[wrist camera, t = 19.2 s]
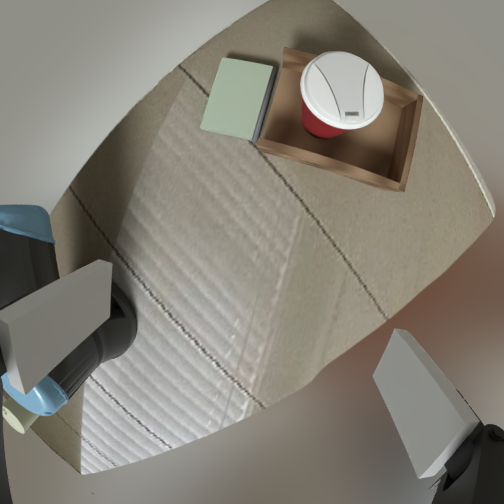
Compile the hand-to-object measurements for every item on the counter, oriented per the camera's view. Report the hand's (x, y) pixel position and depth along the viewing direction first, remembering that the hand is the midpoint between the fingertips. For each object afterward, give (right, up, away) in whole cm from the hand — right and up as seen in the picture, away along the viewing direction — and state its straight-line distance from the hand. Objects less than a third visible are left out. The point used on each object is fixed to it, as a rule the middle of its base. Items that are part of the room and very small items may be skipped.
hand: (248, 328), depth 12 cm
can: (-59, -36, +42) cm, 81 cm away
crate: (+12, +20, +23) cm, 33 cm away
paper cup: (+9, +20, +22) cm, 31 cm away
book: (+2, +23, +22) cm, 32 cm away
